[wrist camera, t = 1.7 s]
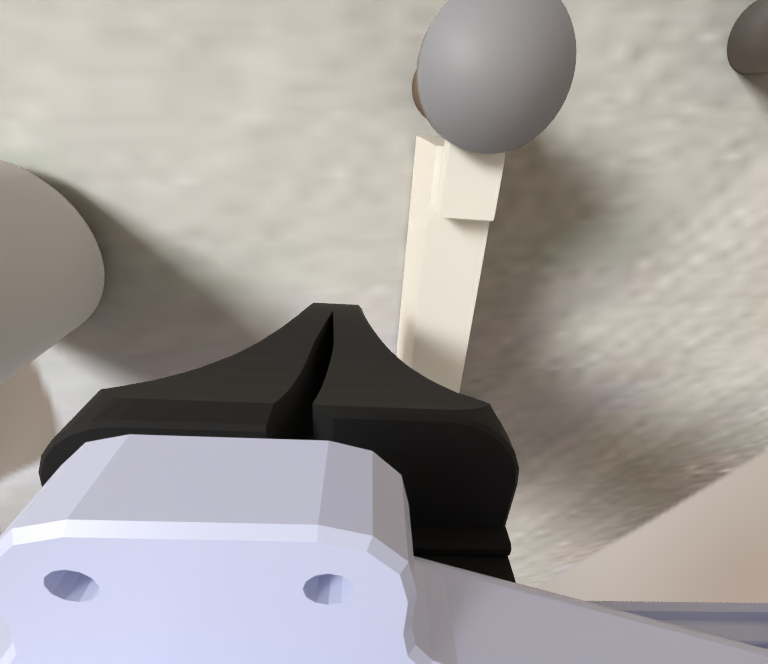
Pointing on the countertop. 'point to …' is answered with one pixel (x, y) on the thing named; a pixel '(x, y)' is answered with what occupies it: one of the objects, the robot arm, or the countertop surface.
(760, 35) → the posts
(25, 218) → the beverage can
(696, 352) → the countertop surface
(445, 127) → the gate
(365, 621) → the robot arm
